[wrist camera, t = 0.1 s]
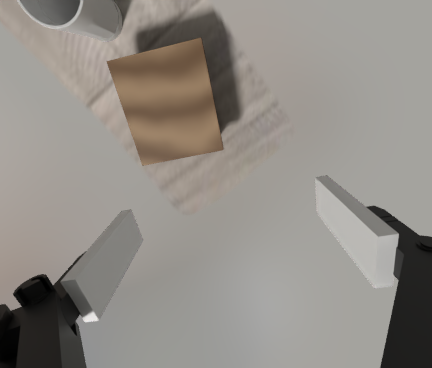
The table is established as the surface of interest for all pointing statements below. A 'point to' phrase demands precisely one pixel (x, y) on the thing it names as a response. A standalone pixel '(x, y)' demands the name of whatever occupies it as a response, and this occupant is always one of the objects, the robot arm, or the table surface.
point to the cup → (77, 16)
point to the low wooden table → (168, 101)
